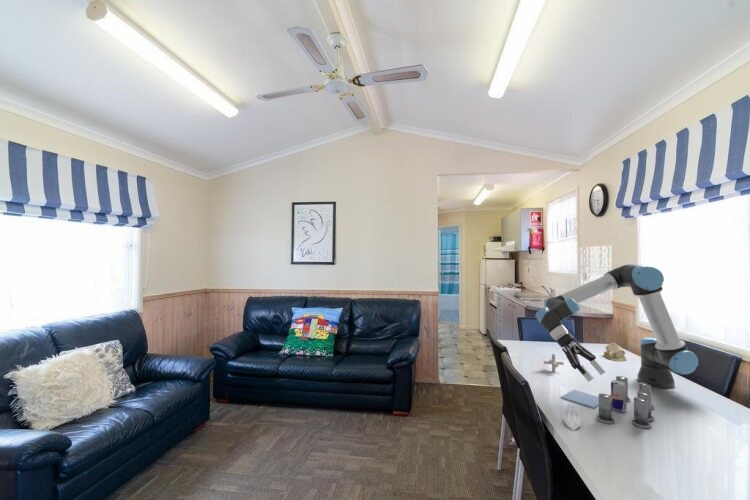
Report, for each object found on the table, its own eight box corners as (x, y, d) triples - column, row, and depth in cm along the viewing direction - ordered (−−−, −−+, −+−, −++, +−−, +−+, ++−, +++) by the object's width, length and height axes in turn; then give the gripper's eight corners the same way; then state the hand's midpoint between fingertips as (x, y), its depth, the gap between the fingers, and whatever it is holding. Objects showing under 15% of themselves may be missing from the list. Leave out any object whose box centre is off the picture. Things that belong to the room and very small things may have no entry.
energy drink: (608, 407, 149) (607, 380, 149) (619, 407, 149) (619, 379, 149) (617, 413, 144) (617, 384, 144) (629, 412, 144) (629, 384, 144)
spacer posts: (585, 417, 140) (585, 392, 140) (616, 395, 161) (616, 374, 162) (642, 436, 125) (642, 409, 125) (668, 410, 146) (668, 386, 146)
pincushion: (562, 416, 142) (562, 402, 142) (579, 419, 139) (579, 405, 139) (564, 429, 131) (563, 414, 131) (582, 433, 129) (582, 418, 129)
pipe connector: (566, 375, 189) (566, 357, 189) (546, 374, 191) (546, 356, 191) (560, 369, 198) (560, 352, 199) (541, 368, 200) (541, 351, 201)
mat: (560, 398, 159) (560, 396, 159) (573, 390, 167) (573, 389, 167) (594, 408, 148) (594, 407, 148) (606, 400, 156) (606, 399, 156)
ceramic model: (631, 361, 213) (631, 345, 213) (613, 361, 212) (613, 345, 213) (614, 354, 227) (614, 339, 227) (598, 355, 227) (598, 340, 227)
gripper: (568, 337, 174) (601, 374, 162) (544, 345, 159) (578, 387, 147) (579, 328, 170) (614, 366, 158) (555, 335, 155) (592, 378, 143)
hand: (597, 376), depth 152 cm, fingers open, 13 cm apart
